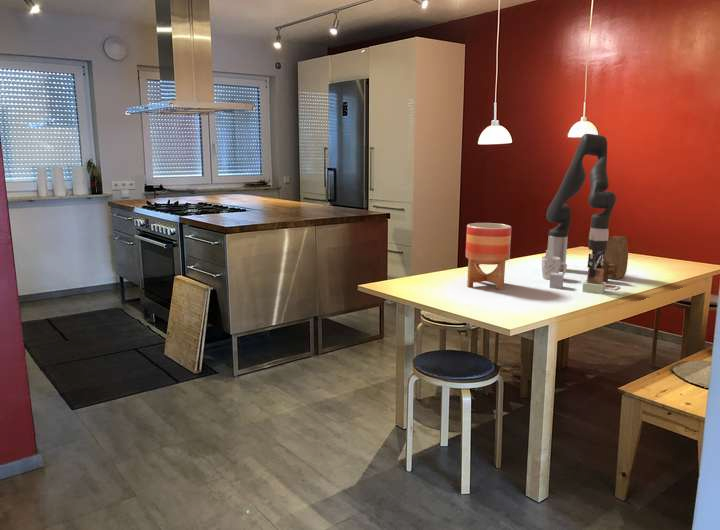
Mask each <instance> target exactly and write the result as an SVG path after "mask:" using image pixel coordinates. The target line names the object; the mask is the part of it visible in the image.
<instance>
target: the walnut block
mask: <svg viewBox="0 0 720 530" xmlns="http://www.w3.org/2000/svg"><path fill="white" fill-rule="evenodd" d="M603 274H604V269H600V268H595V277H594V278H590V277H589V268H588V270H587V277H586V280H587V283H593V284H601V283H603Z"/></svg>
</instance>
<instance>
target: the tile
mask: <svg viewBox="0 0 720 530" xmlns="http://www.w3.org/2000/svg"><path fill="white" fill-rule="evenodd" d="M620 287H621V286H619V285H613V284H607V283H605V290H611V291H616V290H619V289H620Z"/></svg>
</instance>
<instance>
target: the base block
mask: <svg viewBox="0 0 720 530" xmlns="http://www.w3.org/2000/svg"><path fill="white" fill-rule="evenodd" d="M605 284H607V282H603V283H601V284H593V283H587V279H586V280H584V282H583V283H582V291H581V292H582V293H588V294H597V295H598V294H599V295H600V294H601V295H603V294H604V292H605V291H606V289H605Z"/></svg>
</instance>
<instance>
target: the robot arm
mask: <svg viewBox="0 0 720 530" xmlns="http://www.w3.org/2000/svg"><path fill="white" fill-rule="evenodd" d="M585 156H593V157H597V161H596V163H595V164H594V165H593V167H592V168H591V170H590V173H589V181H590V193H589V196H588V205H589V206H590V208H592V209H603V211H601V212H599V213H594V214H592V215H591V220H590V230H589V235H588V250H589V251H591V253H588V258H587V267H586V268H588V269H589V277H590V278H594V277H595V268H600V269H602V266H603V264H604V263H605V251H606V250H607V246H608V238H609V233H610V232H609V228H610V227H609V226H610V219H611V214H612V212H613V210H614V207H615V204H616V202H617V197H616V194H615V193H614V192H613V191H607V190H608V189H609V186H610V184H609V178H608V170H607V165H608V164H607V163H608V140H607V137H606V136H604V135H600V134H593V133H584V134H583V135H582V136H581V138H580V140H579V143H578V144H577V147H576V150H575V153H574V156H573V158H572V160H571V162H570V165H569V168H568V169H567V171H566V173H565V175H564V177H563V179H562V182H561V183H560V185H559V188H558V190H557V192H556V194H555V195H554V198H553V199H552V201H551V203H550V204H549V205H548V206H547V207H548V208H547V210H546V216H545V217H546V220H547V221H548V222H549V223H552V224H553V223H554V224H557V223H558V225H556V227H554V228H551V229H549V231H548V240H547V249H546V250H545V256H553V257H559V258H560V259H561V262H564V263H566V264H567V253H568V252H567V250H568V237H569V232H570V227H571V219H572V209H571V206H570V204H566V202H567V201H569V200H571V199H572V198H573V197H574V196H575V195H577V194H578V193H579V192H580V191H581V190H582V187H583V185H584V183H585V181H586V178H587V177H586V170H585V168H584V163H583V160H584V158H585ZM596 265H597V266H596ZM563 270H564V265H560V267H559V272H561V271H562V272H563Z"/></svg>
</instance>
